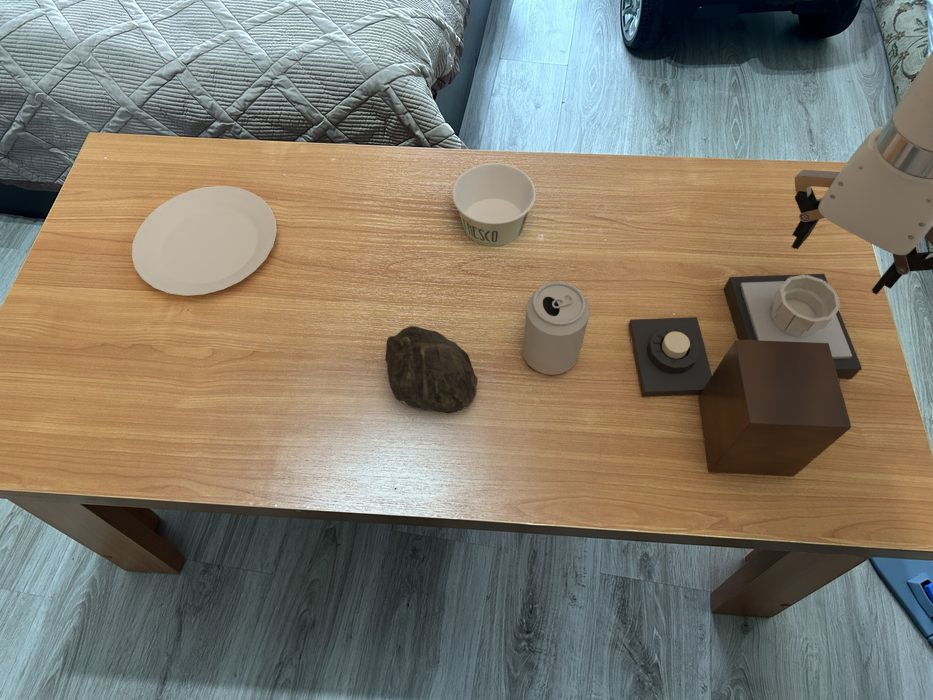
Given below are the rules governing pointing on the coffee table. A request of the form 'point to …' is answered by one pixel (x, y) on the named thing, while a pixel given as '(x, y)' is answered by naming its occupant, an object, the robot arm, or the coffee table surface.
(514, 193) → the food container
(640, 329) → the pad
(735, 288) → the scale
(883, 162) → the robot arm
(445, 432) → the coffee table surface
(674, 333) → the button
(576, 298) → the can
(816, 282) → the bowl
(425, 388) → the rock
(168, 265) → the plate
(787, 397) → the stand
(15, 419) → the coffee table surface
